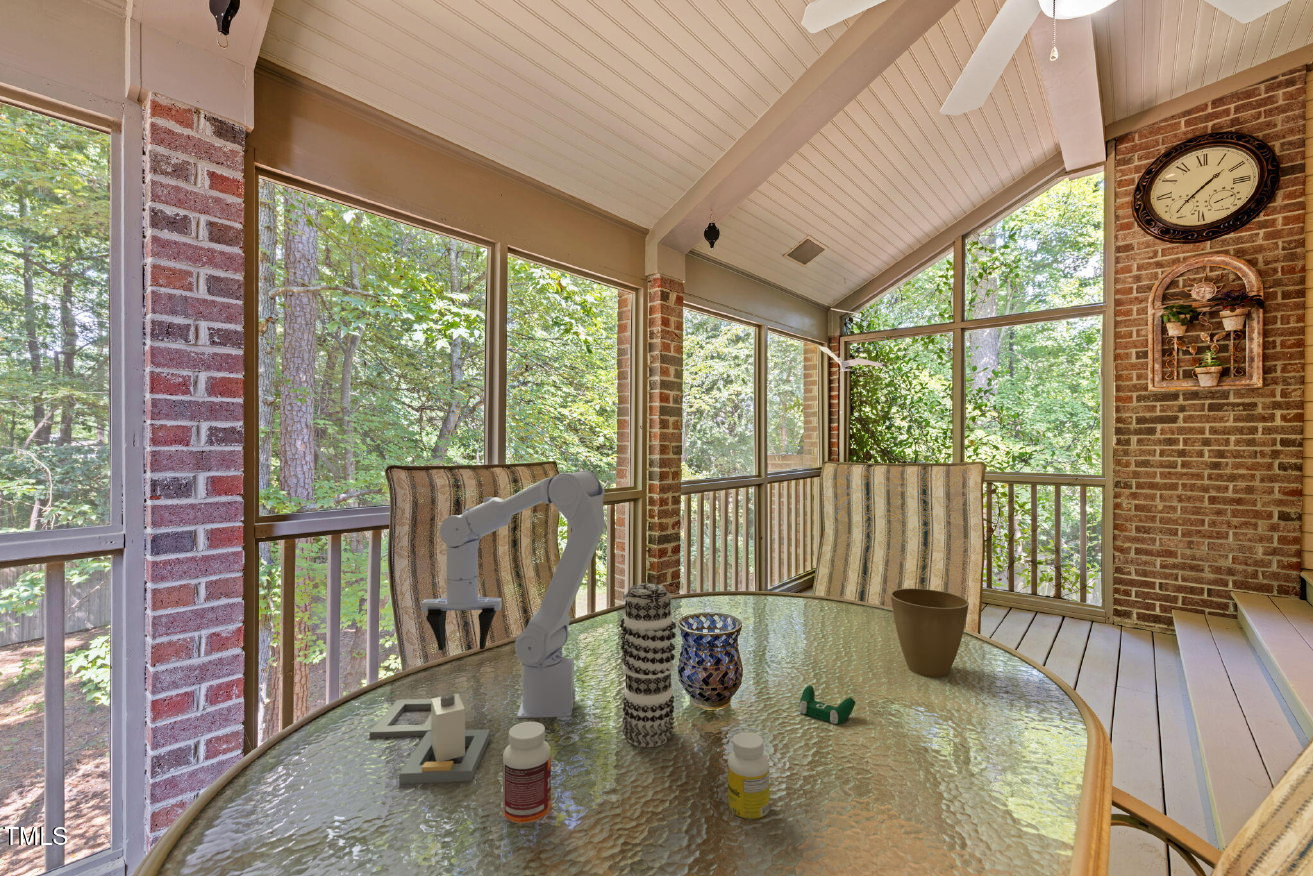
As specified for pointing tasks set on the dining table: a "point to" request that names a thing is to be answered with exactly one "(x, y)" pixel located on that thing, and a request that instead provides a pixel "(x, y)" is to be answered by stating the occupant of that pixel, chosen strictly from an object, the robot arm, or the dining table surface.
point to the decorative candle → (648, 665)
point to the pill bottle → (526, 774)
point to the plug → (447, 727)
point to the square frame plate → (386, 722)
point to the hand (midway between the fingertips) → (462, 648)
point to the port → (445, 770)
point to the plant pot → (929, 628)
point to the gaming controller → (824, 708)
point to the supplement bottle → (748, 777)
